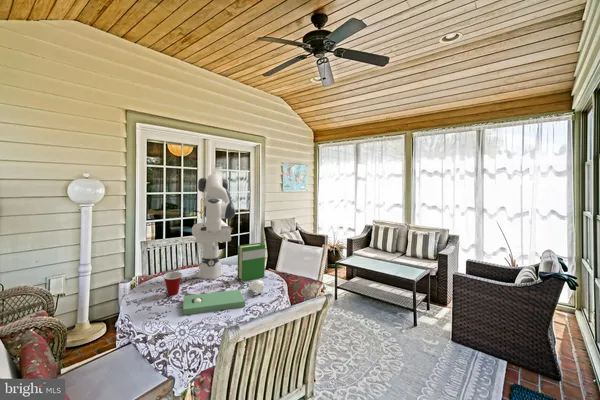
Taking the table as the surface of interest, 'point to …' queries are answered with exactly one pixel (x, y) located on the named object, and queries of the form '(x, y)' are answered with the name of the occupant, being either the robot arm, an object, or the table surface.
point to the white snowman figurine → (257, 287)
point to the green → (213, 302)
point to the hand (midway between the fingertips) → (213, 249)
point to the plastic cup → (172, 282)
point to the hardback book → (251, 261)
